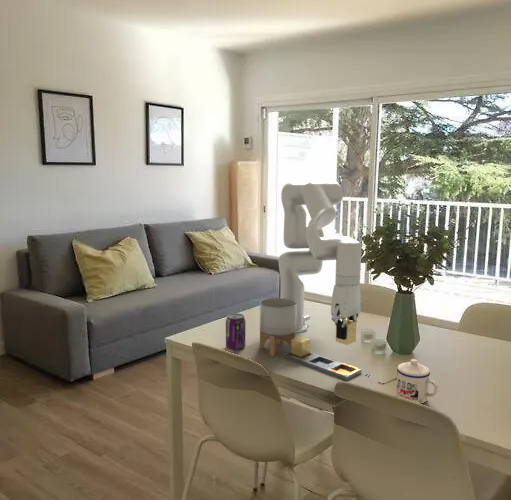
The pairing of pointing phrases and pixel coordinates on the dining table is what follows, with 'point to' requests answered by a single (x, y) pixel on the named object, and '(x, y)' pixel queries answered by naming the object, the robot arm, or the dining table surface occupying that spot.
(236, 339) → the beverage can
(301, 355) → the brass block
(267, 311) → the planter
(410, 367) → the teacup with lid
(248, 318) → the dining table surface
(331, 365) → the gray slotted tray
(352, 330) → the brass block
